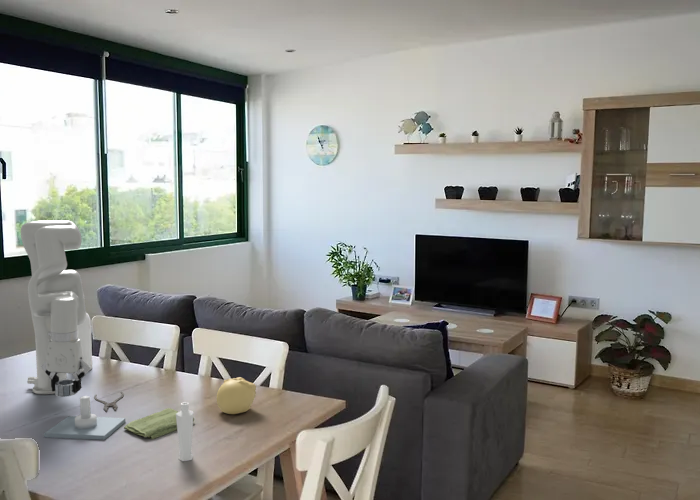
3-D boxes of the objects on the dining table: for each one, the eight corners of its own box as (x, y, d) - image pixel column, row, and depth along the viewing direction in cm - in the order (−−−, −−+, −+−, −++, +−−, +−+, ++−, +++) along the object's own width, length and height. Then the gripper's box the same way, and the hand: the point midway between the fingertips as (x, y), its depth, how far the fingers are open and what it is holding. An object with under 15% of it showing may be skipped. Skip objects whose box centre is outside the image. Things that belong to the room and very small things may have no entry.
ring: (51, 395, 205) (51, 385, 204) (61, 388, 211) (61, 378, 211) (71, 397, 204) (70, 386, 204) (81, 390, 211) (80, 379, 210)
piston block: (44, 437, 188) (42, 404, 187) (69, 419, 202) (67, 389, 201) (104, 439, 187) (103, 406, 186) (125, 421, 201) (124, 391, 200)
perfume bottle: (178, 454, 177) (177, 400, 175) (194, 454, 177) (193, 400, 176) (175, 462, 172) (174, 406, 171) (192, 461, 172) (191, 406, 171)
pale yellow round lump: (261, 408, 214) (260, 375, 213) (239, 419, 203) (239, 386, 202) (231, 402, 219) (231, 371, 218) (209, 414, 208) (209, 381, 207)
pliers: (120, 389, 230) (136, 405, 214) (120, 392, 230) (136, 408, 214) (91, 394, 225) (106, 411, 208) (91, 397, 225) (106, 413, 209)
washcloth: (121, 431, 194) (121, 421, 194) (170, 415, 208) (170, 405, 207) (147, 442, 186) (147, 431, 186) (197, 425, 200) (197, 414, 199)
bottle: (78, 373, 251) (76, 296, 248) (66, 370, 255) (63, 294, 252) (96, 368, 258) (94, 293, 255) (84, 365, 262) (81, 291, 259)
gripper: (31, 337, 202) (33, 393, 205) (85, 341, 201) (86, 396, 203) (44, 331, 209) (46, 384, 212) (97, 334, 208) (98, 388, 211)
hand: (66, 390), depth 208 cm, fingers closed on ring, 6 cm apart
